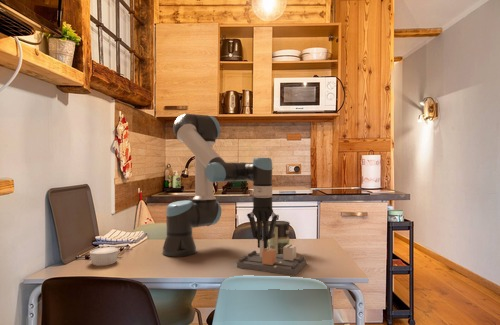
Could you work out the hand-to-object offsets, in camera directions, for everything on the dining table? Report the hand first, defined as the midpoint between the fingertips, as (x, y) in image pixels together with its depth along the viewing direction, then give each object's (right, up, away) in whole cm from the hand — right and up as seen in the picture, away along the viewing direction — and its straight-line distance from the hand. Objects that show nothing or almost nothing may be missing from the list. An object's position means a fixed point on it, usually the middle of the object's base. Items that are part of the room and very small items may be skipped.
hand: (262, 256), depth 135 cm
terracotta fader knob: (+3, -2, -1) cm, 4 cm away
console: (+4, -5, +3) cm, 7 cm away
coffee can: (+8, -5, +22) cm, 24 cm away
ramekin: (-66, -5, +7) cm, 66 cm away
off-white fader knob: (+11, -2, +5) cm, 13 cm away
